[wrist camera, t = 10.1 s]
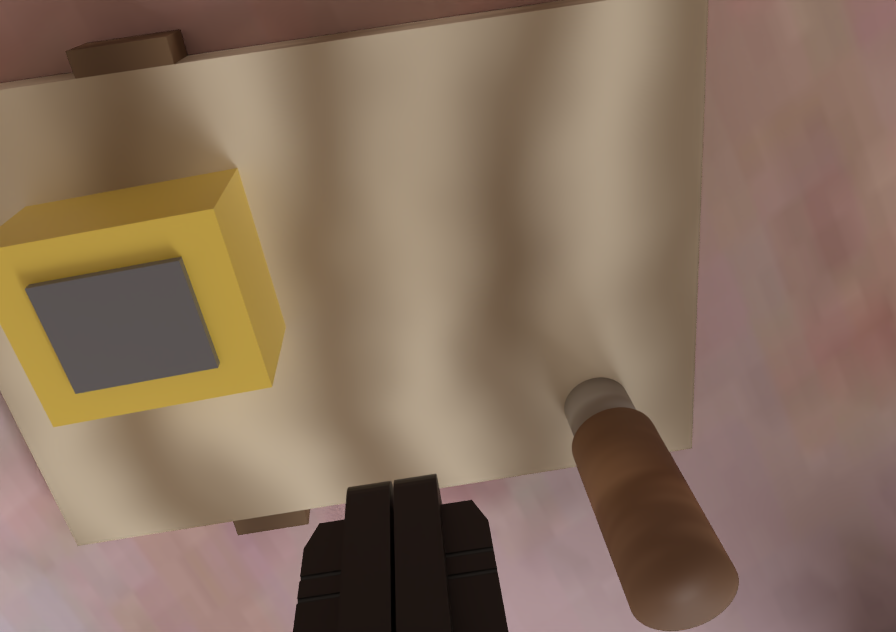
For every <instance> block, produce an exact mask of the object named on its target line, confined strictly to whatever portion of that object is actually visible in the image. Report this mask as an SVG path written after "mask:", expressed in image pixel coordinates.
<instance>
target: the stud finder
mask: <svg viewBox="0 0 896 632" xmlns="http://www.w3.org/2000/svg"><path fill="white" fill-rule="evenodd" d="M0 325H1V327H2V329H3V331H4V333H5V334H6V336H7V338H8V340H9V342H10V344H11V346H12V348H13V350H14V352H15V354H16V356H17V358H18V360H19V362H20V364H21V366H22V367H23V369H24V371H25V373H26V375H27V377H28V379H29V381H30V383H31V385H32V387H33V389H34V391H35V393H36V395H37V397H38V398H39V400H40V402H41V404H42V406H43V408H44V410H45V412H46V414H47V416H48V418H49V420H50V422H51V424H52V426H53V427H58V426H64V425H69V424H74V423H80V422H85V421H91V420H96V419H102V418H107V417H113V416H118V415H123V414H129V413H134V412H140V411H145V410H151V409H156V408H162V407H167V406H173V405H178V404H183V403H189V402H194V401H200V400H205V399H211V398H216V397H222V396H227V395H233V394H238V393H243V392H249V391H254V390H260V389H265V388H271V387H272V386H273V382H274V377H275V373H276V368H277V364H278V360H279V355H280V351H281V347H282V342H283V338H284V333H285V329H286V325H285V322H284V319H283V316H282V312H281V309H280V306H279V302H278V299H277V296H276V293H275V289H274V286H273V283H272V279H271V276H270V273H269V270H268V266H267V263H266V260H265V256H264V253H263V250H262V246H261V243H260V240H259V237H258V233H257V230H256V227H255V223H254V220H253V217H252V214H251V210H250V207H249V204H248V200H247V197H246V194H245V191H244V187H243V184H242V181H241V177H240V174H239V171H238V168H234V169H229V170H223V171H218V172H212V173H207V174H201V175H196V176H191V177H185V178H180V179H174V180H169V181H163V182H158V183H152V184H147V185H141V186H136V187H130V188H125V189H119V190H114V191H108V192H103V193H97V194H92V195H86V196H81V197H75V198H70V199H65V200H59V201H54V202H48V203H43V204H37V205H32V206H26V207H24V208H23V209H22V210H20V211H19V212H18V213H17V214H15V215H14V216H13V217H11V218H10V219H9V220H8V221H6V222H5V223H4V224H2V225H1V226H0Z"/></svg>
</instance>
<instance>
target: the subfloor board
mask: <svg viewBox="0 0 896 632" xmlns="http://www.w3.org/2000/svg"><path fill="white" fill-rule="evenodd" d="M707 23H708V0H561V1H554V2H547V3H541V4H534V5H527V6H520V7H514V8H507V9H500V10H493V11H486V12H480V13H473V14H466V15H459V16H452V17H446V18H439V19H432V20H425V21H419V22H412V23H405V24H398V25H391V26H385V27H378V28H371V29H364V30H358V31H351V32H344V33H337V34H330V35H324V36H317V37H310V38H303V39H297V40H290V41H283V42H276V43H269V44H263V45H256V46H249V47H242V48H236V49H229V50H222V51H215V52H208V53H202V54H195V55H187V52H186V48H185V45H184V41H183V37H182V34H181V30H173V31H167V32H160V33H153V34H146V35H139V36H133V37H126V38H119V39H112V40H105V41H99V42H92V43H86V44H83V45H81V46H78V47H75V48H73V49H70V50H67V51H66V54H67V57H68V60H69V62H70V65H71V68H72V71H73V73H66V74H59V75H52V76H46V77H39V78H32V79H25V80H19V81H12V82H5V83H0V226H1V225H2V224H4V223H5V222H6V221H8V220H9V219H10V218H11V217H13V216H14V215H15V214H17V213H18V212H19V211H20V210H22V209H23V208H24V207H26V206H32V205H37V204H43V203H48V202H54V201H59V200H65V199H70V198H75V197H81V196H86V195H92V194H97V193H103V192H108V191H114V190H119V189H125V188H130V187H136V186H141V185H147V184H152V183H158V182H163V181H169V180H174V179H180V178H185V177H191V176H196V175H201V174H207V173H212V172H218V171H223V170H229V169H234V168H238V171H239V174H240V177H241V181H242V184H243V187H244V191H245V194H246V197H247V200H248V204H249V207H250V210H251V214H252V217H253V220H254V223H255V227H256V230H257V233H258V237H259V240H260V243H261V246H262V250H263V253H264V256H265V260H266V263H267V266H268V270H269V273H270V276H271V279H272V283H273V286H274V289H275V293H276V296H277V299H278V302H279V306H280V309H281V312H282V316H283V319H284V322H285V325H286V329H285V333H284V338H283V342H282V347H281V351H280V355H279V360H278V364H277V368H276V373H275V377H274V382H273V386H272V387H271V388H265V389H260V390H254V391H249V392H243V393H238V394H233V395H227V396H222V397H216V398H211V399H205V400H200V401H194V402H189V403H183V404H178V405H173V406H167V407H162V408H156V409H151V410H145V411H140V412H134V413H129V414H123V415H118V416H113V417H107V418H102V419H96V420H91V421H85V422H80V423H74V424H69V425H64V426H58V427H53V426H52V424H51V422H50V420H49V418H48V416H47V414H46V412H45V410H44V408H43V406H42V404H41V402H40V400H39V398H38V397H37V395H36V393H35V391H34V389H33V387H32V385H31V383H30V381H29V379H28V377H27V375H26V373H25V371H24V369H23V367H22V366H21V364H20V362H19V360H18V358H17V356H16V354H15V352H14V350H13V348H12V346H11V344H10V342H9V340H8V338H7V336H6V334H5V333H4V331H3V329H2V327H1V325H0V392H1V394H2V396H3V398H4V400H5V401H6V403H7V405H8V407H9V409H10V411H11V413H12V415H13V417H14V419H15V421H16V423H17V425H18V427H19V429H20V431H21V433H22V435H23V437H24V439H25V441H26V443H27V445H28V447H29V449H30V451H31V453H32V455H33V457H34V459H35V461H36V463H37V465H38V467H39V469H40V471H41V473H42V475H43V477H44V479H45V481H46V483H47V485H48V487H49V489H50V491H51V493H52V495H53V497H54V499H55V501H56V503H57V505H58V507H59V509H60V511H61V513H62V515H63V517H64V519H65V521H66V523H67V525H68V527H69V529H70V531H71V533H72V535H73V537H74V539H75V541H76V543H77V545H78V546H80V545H86V544H93V543H99V542H105V541H111V540H118V539H124V538H130V537H137V536H143V535H149V534H156V533H162V532H168V531H174V530H181V529H187V528H193V527H200V526H206V525H212V524H218V523H225V522H231V521H233V523H234V525H235V528H236V531H237V534H238V535H243V534H249V533H255V532H262V531H268V530H274V529H280V528H287V527H293V526H299V525H305V524H308V523H309V514H310V509H313V508H319V507H325V506H332V505H338V504H344V503H346V494H347V488H348V487H352V486H359V485H365V484H372V483H379V482H385V481H391V482H392V485H393V484H394V480H397V479H403V478H410V477H417V476H423V475H430V474H437V478H438V484H439V488H445V487H451V486H458V485H464V484H470V483H476V482H483V481H489V480H495V479H502V478H508V477H514V476H520V475H527V474H533V473H539V472H546V471H552V470H558V469H565V468H571V467H577V466H576V463H575V460H574V458H573V455H572V441H573V438H574V436H573V433H572V431H571V428H570V426H569V423H568V420H567V418H566V415H565V411H564V406H565V401H566V399H567V397H568V395H569V393H570V392H571V391H572V390H573V389H574V388H575V387H576V386H577V385H579V384H580V383H582V382H584V381H586V380H589V379H592V378H598V377H604V378H610V379H613V380H615V381H617V382H619V383H620V384H621V385H622V386H623V387H624V388H625V390H626V392H627V394H628V395H629V397H630V399H631V401H632V403H633V405H634V406H635V408H636V410H638V411H640V412H642V413H644V414H645V415H646V416H648V417H649V418H650V420H651V421H652V422H653V424H654V426H655V428H656V429H657V431H658V433H659V435H660V436H661V438H662V440H663V442H664V443H665V445H666V447H667V449H668V450H669V452H671V451H678V450H684V449H690V448H692V427H693V400H694V373H695V346H696V319H697V292H698V265H699V238H700V211H701V184H702V158H703V131H704V104H705V77H706V50H707Z"/></svg>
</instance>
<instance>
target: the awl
mask: <svg viewBox="0 0 896 632" xmlns="http://www.w3.org/2000/svg"><path fill="white" fill-rule="evenodd" d="M564 411H565V415H566V418H567V420H568V423H569V426H570V428H571V431H572V433H573V436H574V438H573V441H572V455H573V458H574V460H575V463H576V466H577V468H578V471H579V474H580V476H581V479H582V482H583V484H584V487H585V490H586V492H587V495H588V498H589V500H590V503H591V506H592V508H593V511H594V513H595V516H596V519H597V521H598V524H599V527H600V529H601V532H602V535H603V537H604V540H605V543H606V545H607V548H608V551H609V553H610V556H611V559H612V561H613V564H614V567H615V569H616V572H617V575H618V577H619V580H620V583H621V585H622V588H623V590H624V593H625V596H626V598H627V601H628V604H629V606H630V609H631V612H632V613H633V615H634V616H635V618H636V619H637V620H638V621H639V622H641V623H642V624H644V625H645V626H648V627H650V628H653V629H656V630H662V631H679V630H685V629H690V628H693V627H697V626H699V625H702V624H704V623H706V622H708V621H710V620H712V619H713V618H715V617H716V616H718V615H719V614H720V613H722V612H723V611H724V610H725V609H726V608H727V607H728V606H729V605H730V603H731V602H732V600H733V599H734V597H735V595H736V593H737V590H738V585H739V578H738V573H737V571H736V569H735V567H734V565H733V564H732V562H731V560H730V558H729V556H728V555H727V553H726V551H725V549H724V548H723V546H722V544H721V542H720V541H719V539H718V537H717V535H716V533H715V532H714V530H713V528H712V526H711V525H710V523H709V521H708V519H707V518H706V516H705V514H704V512H703V511H702V509H701V507H700V505H699V503H698V502H697V500H696V498H695V496H694V495H693V493H692V491H691V489H690V488H689V486H688V484H687V482H686V480H685V479H684V477H683V475H682V473H681V472H680V470H679V468H678V466H677V465H676V463H675V461H674V459H673V458H672V456H671V454H670V452H669V450H668V449H667V447H666V445H665V443H664V442H663V440H662V438H661V436H660V435H659V433H658V431H657V429H656V428H655V426H654V424H653V422H652V421H651V420H650V418H649V417H648V416H646V415H645V414H644V413H642V412H640V411H638V410H636V408H635V406H634V405H633V403H632V401H631V399H630V397H629V395H628V394H627V392H626V390H625V388H624V387H623V386H622V385H621V384H620V383H619V382H617V381H615V380H613V379H610V378H604V377H598V378H592V379H589V380H586V381H584V382H582V383H580V384H579V385H577V386H576V387H575V388H574V389H573V390H572V391H571V392H570V393H569V395H568V397H567V399H566V401H565V406H564Z"/></svg>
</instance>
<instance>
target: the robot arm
mask: <svg viewBox="0 0 896 632" xmlns="http://www.w3.org/2000/svg"><path fill="white" fill-rule="evenodd" d="M300 577H301V581H300V582H299V590H298V597H297V599H298V604H297V605H296V613H295V620H294V628H293V632H508V627H507V622H506V616H505V611H504V605H503V599H502V594H501V588H500V583H499V577H498V572H497V566H496V561H495V555H494V550H493V544H492V539H491V533H490V527H489V522H488V519H487V518H486V517H485V516H484V515H483V513H482V512H481V511H480V510H479V508H478V507H477V506H476V505H475V503H474V502H473V501H472V500H468V501H462V502H455V503H449V504H442V501H441V495H440V490H439V484H438V478H437V474H430V475H423V476H417V477H410V478H403V479H397V480H394V484H393V485H392V482H391V481H385V482H379V483H372V484H365V485H359V486H352V487H348V488H347V494H346V508H345V520H339V521H332V522H326V523H319V525H318V527H317V528H316V530H315V532H314V533H313V535H312V536H311V538H310V540H309V541H308V543H307V545H306V546H305V548H304V551H303V559H302V567H301V574H300Z"/></svg>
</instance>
